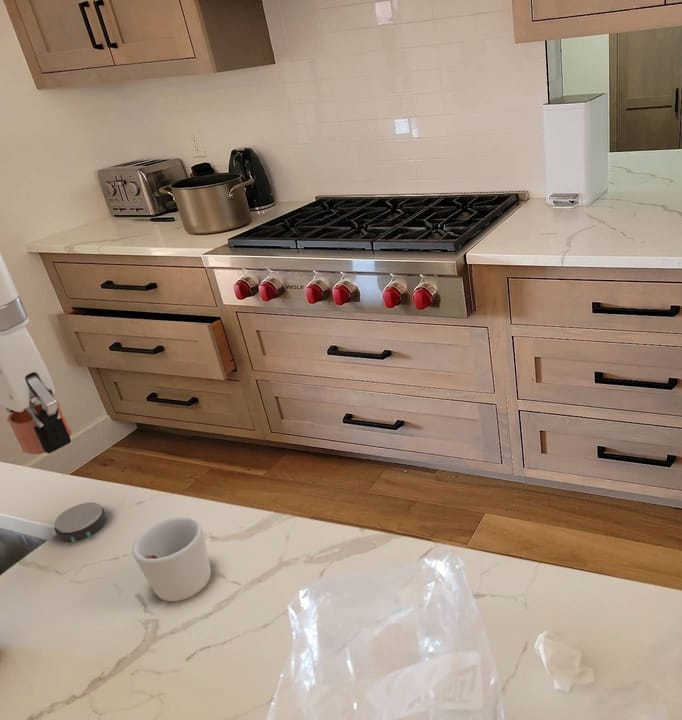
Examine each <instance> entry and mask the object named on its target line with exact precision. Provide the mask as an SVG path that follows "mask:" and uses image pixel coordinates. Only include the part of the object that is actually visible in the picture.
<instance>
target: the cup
mask: <svg viewBox="0 0 682 720" xmlns="http://www.w3.org/2000/svg"><path fill="white" fill-rule="evenodd" d="M132 555H133V558H134V560H135V562H136V563H137V565H138V566H139V568H140V571H141V572H142V573H143V575H144V577H145V578H146V580H147V582H148V583H149V585H150V587H151V589H152V590H153V592H154V593H155V594H156V596H157V597H158V598H159V599H161V600H162V601H165V602H179V601H183V600H186V599H188V598H190V597H192V596H194V595H196V594H197V593H199V592H200V591H201V590H203V588H204V587H205V586H206V585H207V584H208V583H209V581H210V578H211V563H210V560H209V554H208V549H207V545H206V541H205V535H204V530H203V526H202V525H201V523H200V522H199V521H198V520H196V519H195V518H192V517H187V516H182V517H181V516H177V517H171V518H168V519H164V520H162V521H160V522H157V523H156V524H154V525H153V524H152V526H150V527H148V528H147V529H146V530H144V531H143V532H142V533H141V534H140V535H139V536H138V537H137V538H136V540H135V542H134V544H133V546H132Z"/></svg>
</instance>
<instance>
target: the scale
mask: <svg viewBox="0 0 682 720" xmlns="http://www.w3.org/2000/svg"><path fill="white" fill-rule="evenodd" d="M107 522H108V516H107V514H106V512H105V508H103V506H101V504H99V503H97V502H84V503H80V504H76V505H74V506H72V507H70V508H68V509H66V510H64V511H63V512H61V513H60V514H59V515H58V516H57V517H56V519H55V521H54V532H55V534H56V536H57V537H58V539H59V540H60V541H61V542H64V543H75V542H79V541H83V540H85V539H87V538H90V537H92V536H94V535H95V534H97V533H98V532H100V530H102V529H103V527H105V526H106V524H107Z"/></svg>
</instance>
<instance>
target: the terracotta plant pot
mask: <svg viewBox="0 0 682 720" xmlns="http://www.w3.org/2000/svg"><path fill="white" fill-rule="evenodd" d="M32 403H33V402H31V404H32ZM57 403H58V409H59V410H58V411H59V413H60V415H61V418H62V421H63V423H64V425H65V427H66V430H67V432H68V434H69V437H70V438H71V436H72V429H71V427H70V425H69V422H68V420H67V418H66V415H65V413H64V411H63V409H62V405H61V404H60V402H58V401H57ZM34 409H35V411H36V412H37V414H38V415H39V412H40V410H42V405H39V406H37V407H35V408H34ZM6 422H7V424H8V427H9V428H10V430H11V432H12V435H13V437H14V439H15V441H16V443H17V445H18V447H19V449H20V450H21V452H23V453H27V454H29V455H42V454H46V452H45V451H44V449H43V447H42V445H41V443H40V440H39V438H38V436H37V434H36V432H35V430H34V427H36V424H35V423H34V421H33V420H32V418H31V416H30V415H29V413H28V412H27V410H26V408H25V409H24V411H22V412H16V411H14V412H12V413H9V415H8V416H7V419H6Z"/></svg>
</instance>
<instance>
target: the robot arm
mask: <svg viewBox="0 0 682 720" xmlns="http://www.w3.org/2000/svg"><path fill="white" fill-rule="evenodd" d="M29 322H30V317H29V315H28V313H27V310H26V308H25V306H24V303H23V301H22V299H21V296H20V295H19V292H18V290H17V287H16V285H15V282H14V280H13V278H12V276H11V273H10V270H9V269H8V266H7V264H6V262H5V258H4V257H3V255H2V252H1V251H0V405H1V406H2V407H4V408H5V410H6V411H7V412H8V414H11V413H12V412H14V411H16V412H22V411H24V409H25V408H26V410H27V412H28V413H29V415H30V416H31V418H32V420H33V421H34V423H35V424H36V427H34V430H35V432H36V434H37V436H38V438H39V440H40V443H41V445H42V447H43V449H44V451H45V452H46V453H47V454H51V453H53V452H56V451H57V450H59V449H62V448H64V447H65V446H67V445H69V444H70V443H72V440H71V439H72V438H71V436H70V437H69V434H68V432H67V430H66V427H65V425H64V423H63V421H62V418H61V415H60V413H59V411H58V410H59V409H58V403H59V402H58V400H56V398H55V395H56V393H57V392H56V388H55V386H54V382H53V379H52V377H51V375H50V373H49V371H48V368H47V366H46V364H45V362H44V360H43V357H42V356H41V353H40V352H39V350H38V348H37V346H36V344H35V342H34V339H32V337H31V335H30V333H29V331H28V329H27V327H26V325H28V323H29ZM35 398H36V399H37V400H36V401H34V402H32V399H35ZM57 402H58V403H57ZM31 403H32V404H31ZM39 405H42V410H40V412H39V415H38V414H37V412H36V411H35V409H34V408H35V407H37V406H39ZM46 453H45V454H46Z"/></svg>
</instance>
